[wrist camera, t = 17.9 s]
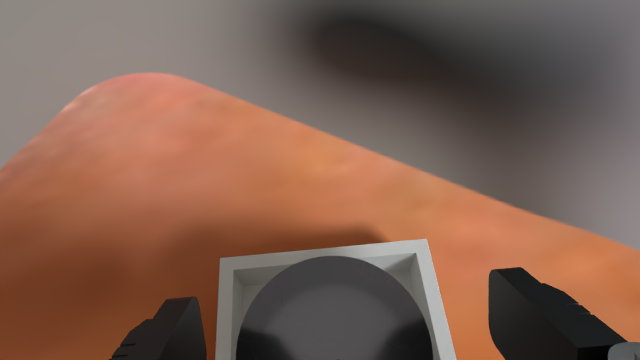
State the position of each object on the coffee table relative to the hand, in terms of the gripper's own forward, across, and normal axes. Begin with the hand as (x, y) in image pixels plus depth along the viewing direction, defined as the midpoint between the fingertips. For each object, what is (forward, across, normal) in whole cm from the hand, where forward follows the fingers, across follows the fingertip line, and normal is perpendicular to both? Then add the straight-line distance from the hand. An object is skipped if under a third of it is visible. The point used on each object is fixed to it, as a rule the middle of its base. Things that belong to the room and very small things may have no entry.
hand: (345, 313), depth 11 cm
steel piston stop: (+5, 0, +6) cm, 8 cm away
